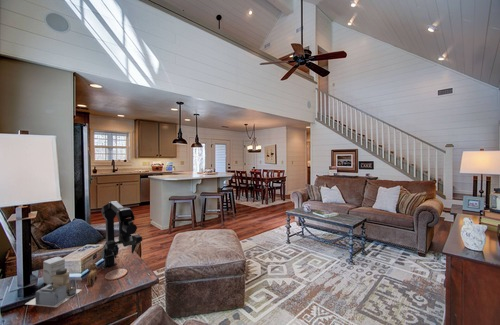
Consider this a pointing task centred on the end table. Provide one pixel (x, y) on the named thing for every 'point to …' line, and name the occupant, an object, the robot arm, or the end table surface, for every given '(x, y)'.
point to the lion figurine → (92, 273)
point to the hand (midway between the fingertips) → (124, 255)
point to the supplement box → (52, 268)
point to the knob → (61, 279)
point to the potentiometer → (71, 291)
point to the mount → (50, 296)
